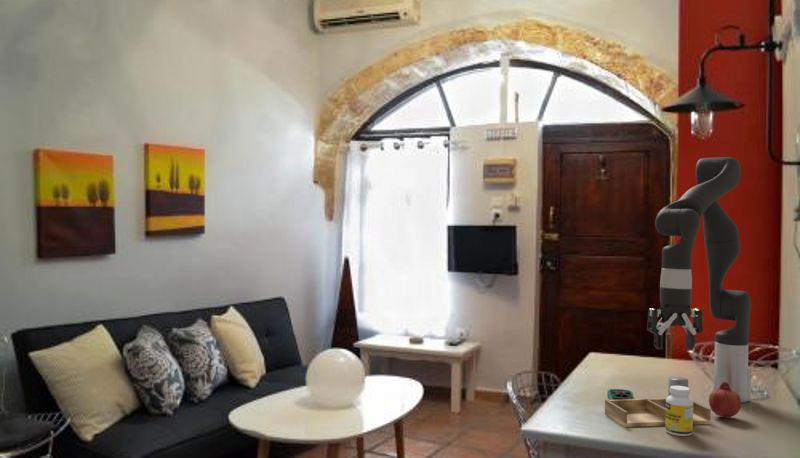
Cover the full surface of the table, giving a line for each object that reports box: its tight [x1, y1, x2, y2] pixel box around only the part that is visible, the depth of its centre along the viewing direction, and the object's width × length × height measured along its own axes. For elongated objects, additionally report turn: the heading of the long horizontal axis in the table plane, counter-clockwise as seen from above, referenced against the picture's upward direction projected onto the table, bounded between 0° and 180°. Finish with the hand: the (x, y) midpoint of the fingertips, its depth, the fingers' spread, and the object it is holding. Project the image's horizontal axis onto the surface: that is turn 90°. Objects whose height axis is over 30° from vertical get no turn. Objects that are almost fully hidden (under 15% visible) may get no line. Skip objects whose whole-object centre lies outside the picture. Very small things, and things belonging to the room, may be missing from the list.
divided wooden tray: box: [604, 397, 712, 428], centre depth 185 cm, size 24×12×4 cm, turn 98°
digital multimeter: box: [607, 388, 635, 400], centre depth 201 cm, size 7×15×3 cm, turn 167°
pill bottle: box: [665, 386, 694, 437], centre depth 173 cm, size 6×6×12 cm
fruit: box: [708, 382, 742, 419], centre depth 187 cm, size 8×8×10 cm
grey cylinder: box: [667, 376, 689, 397], centre depth 185 cm, size 5×5×10 cm
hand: (674, 349), depth 174 cm, fingers open, 8 cm apart
